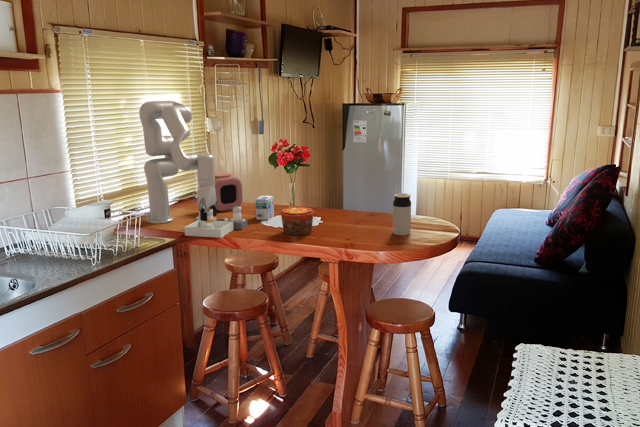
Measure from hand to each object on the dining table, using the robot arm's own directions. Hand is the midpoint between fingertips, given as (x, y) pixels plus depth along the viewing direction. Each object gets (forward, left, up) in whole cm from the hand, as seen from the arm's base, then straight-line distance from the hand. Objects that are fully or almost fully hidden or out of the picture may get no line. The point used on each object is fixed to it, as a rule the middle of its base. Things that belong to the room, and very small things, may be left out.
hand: (208, 218), depth 251 cm
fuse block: (0, +12, -7) cm, 14 cm away
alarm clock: (-14, +48, -7) cm, 50 cm away
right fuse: (+9, +12, -7) cm, 16 cm away
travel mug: (+87, +17, -7) cm, 89 cm away
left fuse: (-9, +12, -7) cm, 16 cm away
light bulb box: (+15, +34, -7) cm, 38 cm away
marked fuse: (0, 0, -6) cm, 6 cm away
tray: (0, 0, -7) cm, 7 cm away
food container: (+40, +9, -7) cm, 42 cm away
